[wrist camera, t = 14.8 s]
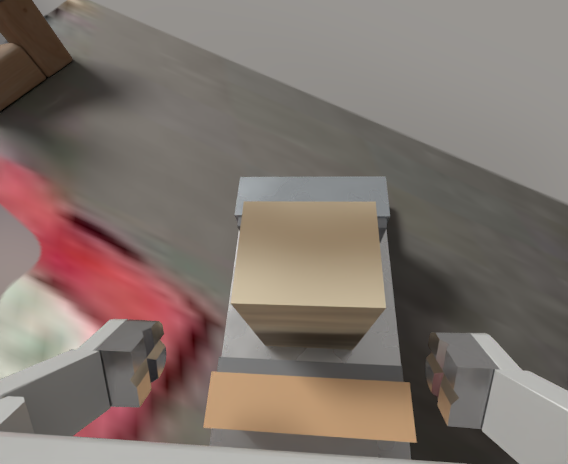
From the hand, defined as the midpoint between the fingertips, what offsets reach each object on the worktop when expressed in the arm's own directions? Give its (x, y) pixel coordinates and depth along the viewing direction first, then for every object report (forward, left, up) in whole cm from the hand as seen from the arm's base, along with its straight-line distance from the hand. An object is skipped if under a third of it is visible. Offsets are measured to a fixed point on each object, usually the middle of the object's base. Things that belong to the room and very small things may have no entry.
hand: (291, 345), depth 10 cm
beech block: (+3, 0, -9) cm, 10 cm away
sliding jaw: (-1, -1, -9) cm, 9 cm away
